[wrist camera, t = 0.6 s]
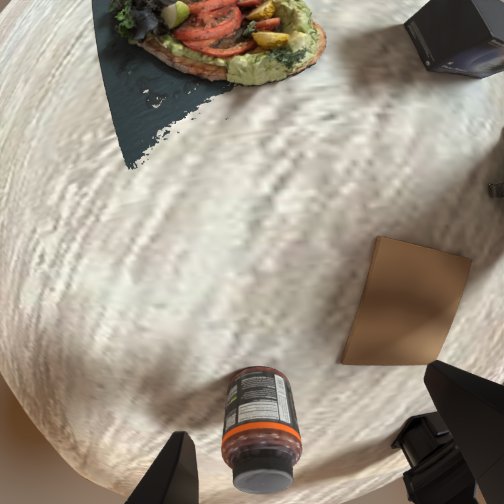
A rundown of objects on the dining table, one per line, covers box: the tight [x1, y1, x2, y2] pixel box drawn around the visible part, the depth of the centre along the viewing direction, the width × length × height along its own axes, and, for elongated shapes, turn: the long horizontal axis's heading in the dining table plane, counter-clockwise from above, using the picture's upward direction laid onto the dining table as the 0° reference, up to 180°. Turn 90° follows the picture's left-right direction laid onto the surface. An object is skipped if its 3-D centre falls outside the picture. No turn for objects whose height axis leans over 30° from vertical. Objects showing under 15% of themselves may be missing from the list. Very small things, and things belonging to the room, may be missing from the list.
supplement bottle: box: [221, 366, 302, 494], centre depth 18 cm, size 6×6×11 cm
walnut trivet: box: [340, 236, 472, 366], centre depth 22 cm, size 12×12×1 cm
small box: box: [404, 0, 504, 78], centre depth 11 cm, size 11×6×10 cm, turn 106°
